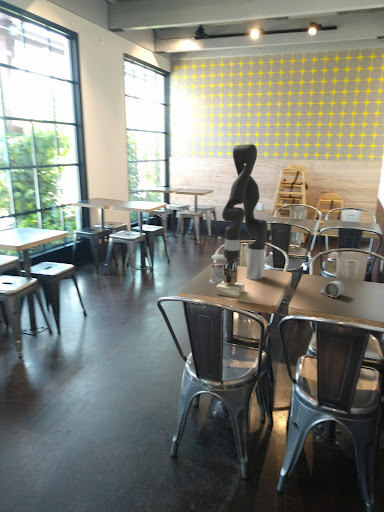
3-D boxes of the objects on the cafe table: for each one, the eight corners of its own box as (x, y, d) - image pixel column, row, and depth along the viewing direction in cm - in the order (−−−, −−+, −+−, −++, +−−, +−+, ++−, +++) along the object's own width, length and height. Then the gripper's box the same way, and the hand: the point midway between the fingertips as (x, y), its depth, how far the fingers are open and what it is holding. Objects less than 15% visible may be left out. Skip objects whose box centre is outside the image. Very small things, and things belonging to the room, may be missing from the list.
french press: (205, 280, 209) (206, 236, 203) (219, 276, 217) (221, 233, 210) (218, 285, 202) (219, 239, 196) (232, 281, 210) (234, 236, 203)
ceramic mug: (344, 295, 191) (346, 280, 189) (337, 299, 185) (339, 284, 183) (324, 290, 198) (325, 276, 196) (317, 294, 192) (318, 280, 190)
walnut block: (227, 280, 194) (228, 268, 193) (236, 281, 192) (237, 270, 190) (223, 282, 190) (224, 271, 188) (233, 284, 188) (233, 272, 186)
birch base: (224, 287, 199) (224, 280, 198) (244, 291, 195) (244, 283, 194) (215, 293, 190) (215, 286, 189) (236, 297, 185) (236, 289, 184)
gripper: (230, 244, 194) (228, 276, 199) (219, 250, 182) (217, 284, 186) (244, 246, 191) (242, 278, 195) (233, 252, 179) (232, 286, 183)
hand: (230, 281), depth 191 cm, fingers closed on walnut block, 4 cm apart
